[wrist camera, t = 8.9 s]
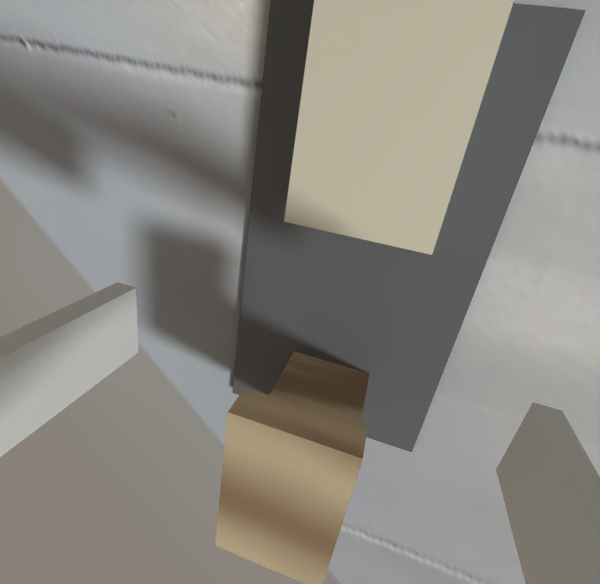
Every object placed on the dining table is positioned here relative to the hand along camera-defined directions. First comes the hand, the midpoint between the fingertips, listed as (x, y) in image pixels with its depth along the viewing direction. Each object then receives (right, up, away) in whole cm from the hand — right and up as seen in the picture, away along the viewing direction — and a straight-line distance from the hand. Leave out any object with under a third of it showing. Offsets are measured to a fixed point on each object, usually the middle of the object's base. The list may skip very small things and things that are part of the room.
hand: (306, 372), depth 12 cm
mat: (+3, +5, +9) cm, 10 cm away
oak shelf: (+2, -3, +12) cm, 12 cm away
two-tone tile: (+3, +10, +3) cm, 10 cm away
